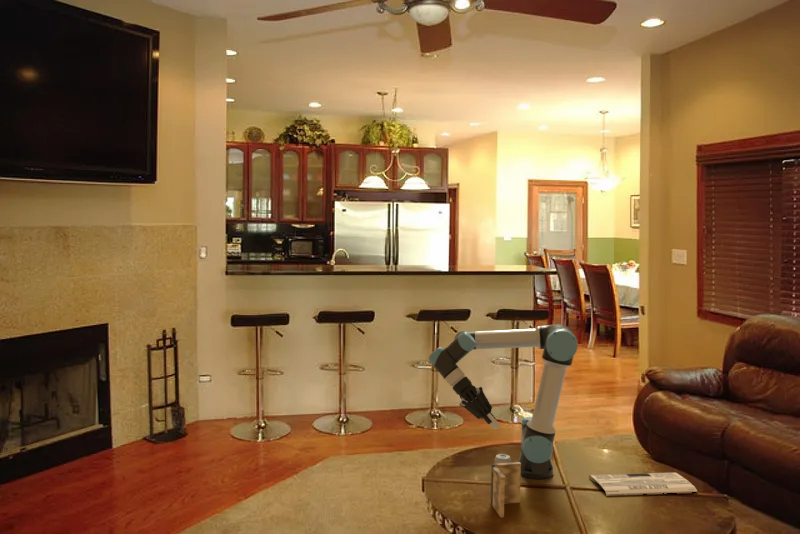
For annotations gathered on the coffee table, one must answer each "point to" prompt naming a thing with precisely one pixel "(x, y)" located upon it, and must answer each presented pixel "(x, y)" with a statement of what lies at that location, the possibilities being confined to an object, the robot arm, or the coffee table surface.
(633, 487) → the newspaper
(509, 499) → the fence panel
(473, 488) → the coffee table surface
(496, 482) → the panel
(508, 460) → the beverage can
